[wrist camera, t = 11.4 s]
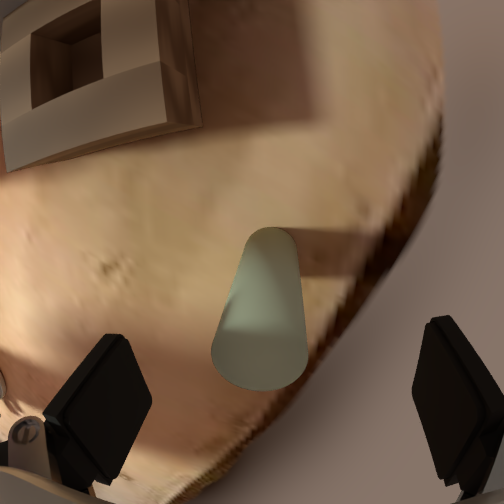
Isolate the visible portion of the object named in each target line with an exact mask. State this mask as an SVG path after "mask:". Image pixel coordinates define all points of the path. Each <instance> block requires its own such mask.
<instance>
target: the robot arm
mask: <svg viewBox="0 0 504 504" xmlns="http://www.w3.org/2000/svg"><path fill="white" fill-rule="evenodd" d="M5 394H6V386H5V382H4V379H3V376H2V374H1V372H0V399H2V398H3V396H4V395H5ZM412 397H413V400H414V403H415V405H416V409H417V411H418V414H419V417H420V420H421V423H422V426H423V429H424V432H425V435H426V438H427V442H428V445H429V448H430V451H431V454H432V458H433V461H434V465H435V468H436V472H437V475H438V478H439V479H444V483H445V486H446V487H447V486H450V485H453V484H456V483H459V485H460V489H461V490H462V491H461V493H460V495H459V497H458V499H457V501H456V502H455V503H452V504H504V395H503V393H502V392H501V390H500V388H499V387H498V385H497V383H496V382H495V380H494V379H493V377H492V375H491V374H490V372H489V371H488V369H487V368H486V366H485V365H484V363H483V361H482V360H481V358H480V357H479V356H478V354H477V353H476V351H475V350H474V348H473V347H472V345H471V344H470V342H469V341H468V340H467V338H466V337H465V335H464V334H463V333H462V331H461V330H460V329H459V327H458V325H457V324H456V323H455V322H454V320H453V319H452V317H451V316H450V315H446V316H439V317H434V318H432V319H431V321H430V323H427V324H426V325H425V330H424V335H423V340H422V345H421V350H420V355H419V360H418V364H417V369H416V373H415V377H414V381H413V385H412ZM151 405H152V397H151V394H150V392H149V389H148V387H147V385H146V383H145V380H144V378H143V375H142V373H141V371H140V368H139V366H138V363H137V361H136V358H135V356H134V353H133V351H132V348H131V346H130V343H129V341H128V340H127V339H125V337H124V336H123V335H121V334H105V335H104V336H103V337H102V338H101V339H100V341H99V342H98V343H97V344H96V345H95V347H94V348H93V349H92V350H91V352H90V353H89V354H88V355H87V356H86V358H85V359H84V360H83V361H82V363H81V364H80V365H79V366H78V368H77V369H76V370H75V371H74V373H73V374H72V375H71V376H70V378H69V379H68V380H67V381H66V383H65V384H64V385H63V387H62V388H61V389H60V390H59V392H58V393H57V394H56V396H55V397H54V398H53V399H52V401H51V402H50V403H49V405H48V406H47V407H46V409H45V410H44V411H43V413H42V414H43V415H44V417H45V418H46V420H45V422H43V421H42V420H41V419H40V418H38V417H36V416H27V417H24V418H21V419H19V420H18V421H17V422H15V423H14V424H13V426H12V427H11V429H10V431H9V435H8V440H7V441H5V442H2V443H0V504H114V503H111V502H108V501H105V500H102V499H99V498H97V497H96V494H95V491H94V488H93V485H92V483H93V481H94V479H95V480H96V481H97V482H99V483H102V484H105V485H109V486H110V485H111V482H112V480H113V479H116V478H117V477H118V475H119V473H120V471H121V468H122V466H123V464H124V462H125V460H126V458H127V456H128V453H129V451H130V449H131V447H132V445H133V443H134V441H135V439H136V437H137V434H138V432H139V430H140V428H141V426H142V424H143V422H144V420H145V418H146V416H147V413H148V411H149V409H150V407H151ZM0 417H1V414H0Z"/></svg>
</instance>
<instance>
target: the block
mask: <svg viewBox="0 0 504 504" xmlns="http://www.w3.org/2000/svg"><path fill="white" fill-rule="evenodd" d="M0 114H1V128H2V139H3V148H4V156H5V163H6V170H7V173H8V172H12V171H17V170H21V169H25V168H30V167H34V166H39V165H44V164H49V163H54V162H59V161H64V160H69V159H72V158H75V157H78V156H81V155H85V154H88V153H91V152H95V151H98V150H102V149H105V148H109V147H113V146H117V145H120V144H124V143H128V142H132V141H136V140H141V139H145V138H149V137H154V136H158V135H163V134H167V133H172V132H177V131H182V130H188V129H193V128H198V127H203V124H202V116H201V109H200V101H199V93H198V85H197V77H196V69H195V61H194V52H193V43H192V34H191V25H190V16H189V6H188V0H27V1H26V2H24V3H23V4H22V5H20V6H19V7H17V8H16V9H15V10H13V11H12V12H10V13H9V14H8V15H6V16H5V17H4V18H3V25H2V35H1V49H0Z"/></svg>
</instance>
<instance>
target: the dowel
mask: <svg viewBox="0 0 504 504" xmlns="http://www.w3.org/2000/svg"><path fill="white" fill-rule="evenodd" d="M211 356H212V361H213V364H214V366H215V368H216V369H217V371H218V372H219V373H220V374H221V375H222V376H223V377H224V378H225V379H226V380H227V381H229V382H230V383H232V384H234V385H236V386H238V387H241V388H244V389H247V390H252V391H272V390H277V389H280V388H283V387H285V386H287V385H289V384H291V383H293V382H294V381H295V380H297V379H298V378H299V377H300V375H301V374H302V373H303V371H304V370H305V368H306V365H307V362H308V347H307V336H306V326H305V316H304V306H303V297H302V288H301V279H300V270H299V262H298V254H297V247H296V244H295V241H294V240H293V238H292V237H291V236H290V235H289V234H288V233H287V232H285V231H284V230H282V229H279V228H275V227H267V228H262V229H260V230H257V231H256V232H254V233H253V234H252V235H251V236H250V237H249V239H248V240H247V242H246V245H245V248H244V251H243V254H242V257H241V260H240V263H239V266H238V269H237V272H236V275H235V278H234V281H233V284H232V287H231V290H230V292H229V295H228V298H227V301H226V304H225V307H224V310H223V313H222V316H221V319H220V322H219V325H218V328H217V331H216V334H215V337H214V340H213V343H212V348H211Z"/></svg>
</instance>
